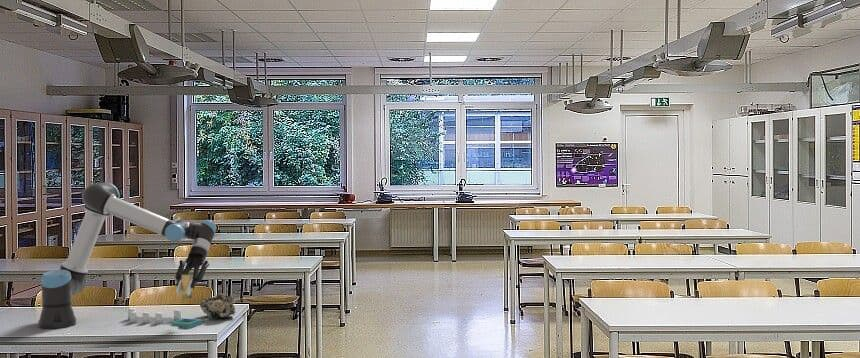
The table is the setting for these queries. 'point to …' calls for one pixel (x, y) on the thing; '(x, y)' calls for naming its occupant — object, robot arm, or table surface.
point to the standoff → (185, 285)
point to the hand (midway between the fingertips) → (182, 293)
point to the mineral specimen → (218, 306)
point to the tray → (187, 325)
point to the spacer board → (151, 318)
